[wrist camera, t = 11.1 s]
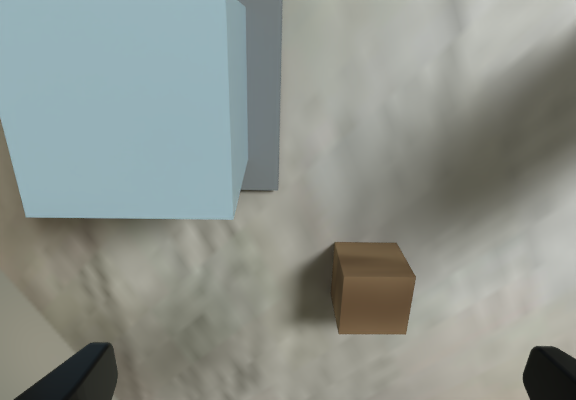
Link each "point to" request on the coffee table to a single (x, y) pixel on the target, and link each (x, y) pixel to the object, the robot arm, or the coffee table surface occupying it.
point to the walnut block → (371, 288)
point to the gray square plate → (263, 92)
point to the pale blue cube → (125, 106)
